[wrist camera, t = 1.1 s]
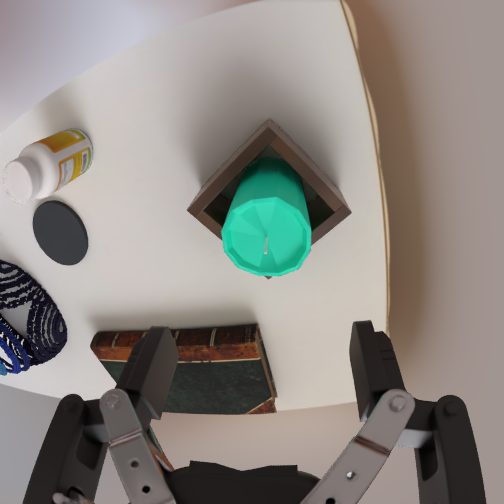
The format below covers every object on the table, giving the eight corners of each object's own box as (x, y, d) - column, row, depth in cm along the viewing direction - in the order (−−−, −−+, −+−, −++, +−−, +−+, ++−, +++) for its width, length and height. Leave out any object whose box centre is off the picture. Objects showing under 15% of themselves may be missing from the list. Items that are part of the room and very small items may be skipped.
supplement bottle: (50, 141, 28) (-9, 169, 19) (82, 119, 26) (20, 141, 18) (68, 181, 30) (14, 219, 22) (101, 163, 29) (46, 198, 21)
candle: (314, 186, 29) (334, 251, 19) (272, 227, 32) (268, 306, 21) (267, 144, 27) (261, 186, 17) (226, 189, 30) (197, 254, 20)
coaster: (28, 233, 34) (26, 235, 34) (47, 186, 31) (44, 188, 30) (73, 274, 37) (71, 277, 37) (99, 232, 33) (96, 235, 33)
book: (143, 395, 51) (277, 395, 47) (137, 410, 48) (277, 414, 44) (97, 329, 43) (257, 321, 38) (87, 345, 39) (255, 342, 35)
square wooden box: (201, 188, 30) (186, 210, 25) (269, 118, 26) (268, 126, 21) (270, 248, 33) (268, 279, 28) (340, 189, 29) (351, 212, 24)
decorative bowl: (77, 362, 48) (46, 423, 36) (4, 330, 48) (-29, 378, 35) (53, 277, 38) (-2, 346, 26) (-25, 250, 37) (-75, 299, 25)
